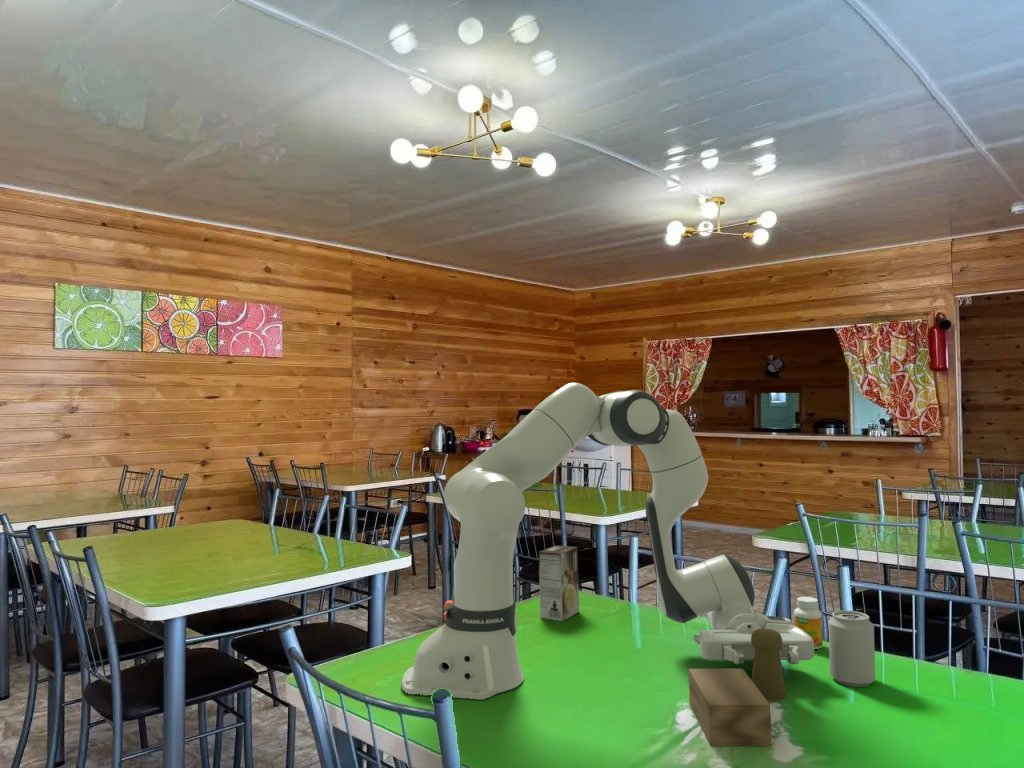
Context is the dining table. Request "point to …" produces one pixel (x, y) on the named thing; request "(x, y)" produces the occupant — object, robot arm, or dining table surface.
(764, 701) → the walnut block
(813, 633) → the supplement bottle
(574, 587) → the coffee box
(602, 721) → the dining table surface
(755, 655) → the cork
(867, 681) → the can
